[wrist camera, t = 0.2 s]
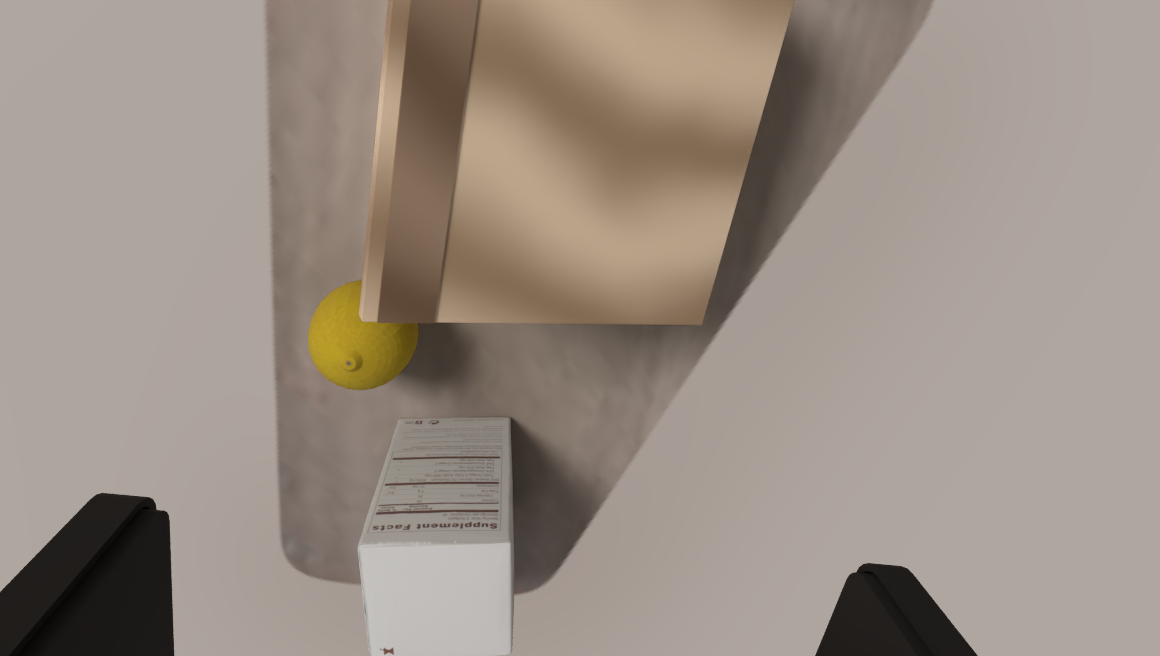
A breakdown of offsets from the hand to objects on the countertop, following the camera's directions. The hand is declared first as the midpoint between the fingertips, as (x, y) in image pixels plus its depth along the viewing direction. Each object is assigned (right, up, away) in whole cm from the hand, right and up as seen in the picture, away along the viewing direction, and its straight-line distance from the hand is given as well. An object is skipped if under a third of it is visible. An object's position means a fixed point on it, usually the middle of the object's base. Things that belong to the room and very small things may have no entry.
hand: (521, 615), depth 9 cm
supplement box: (-7, -5, +35) cm, 36 cm away
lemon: (-11, +5, +30) cm, 33 cm away
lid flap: (+1, +12, +15) cm, 19 cm away
